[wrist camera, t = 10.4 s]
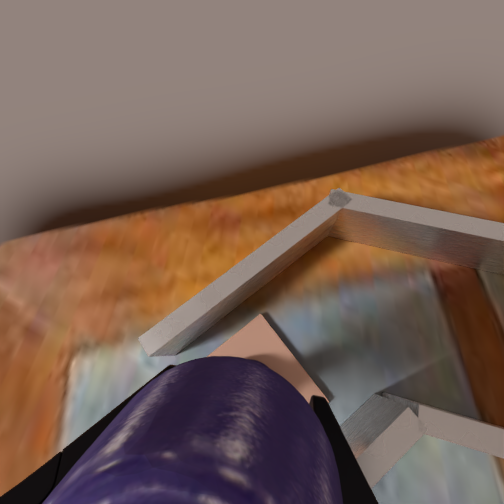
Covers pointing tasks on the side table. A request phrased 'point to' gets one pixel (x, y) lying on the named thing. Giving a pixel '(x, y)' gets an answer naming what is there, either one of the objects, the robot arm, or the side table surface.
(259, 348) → the end pad
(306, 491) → the toy lamp
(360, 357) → the side table surface
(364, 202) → the bent rails
